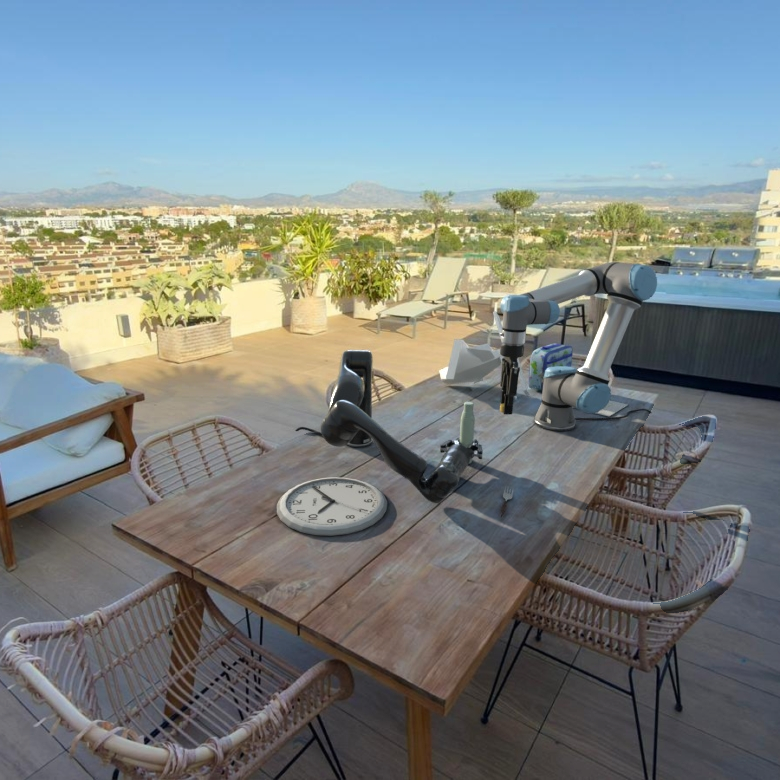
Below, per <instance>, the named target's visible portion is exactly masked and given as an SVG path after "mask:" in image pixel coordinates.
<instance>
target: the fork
mask: <svg viewBox="0 0 780 780" xmlns="http://www.w3.org/2000/svg"><path fill="white" fill-rule="evenodd" d="M512 488H514V486H510V487H509V488H507V486H505V487H504V491H503V494H502V498H503V499H504V502H503V503H502V506H501V510H500V511H501V512H500V518H502V517H503V516H504V513H505V511H506V509H507V503H508V500H511V499H513V495H514V489H512Z"/></svg>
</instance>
